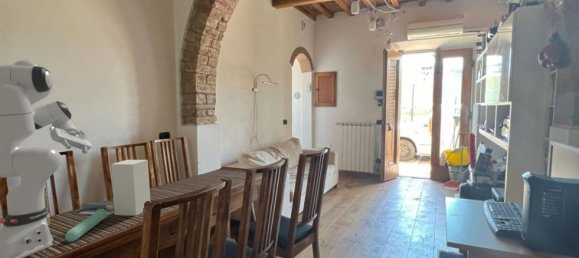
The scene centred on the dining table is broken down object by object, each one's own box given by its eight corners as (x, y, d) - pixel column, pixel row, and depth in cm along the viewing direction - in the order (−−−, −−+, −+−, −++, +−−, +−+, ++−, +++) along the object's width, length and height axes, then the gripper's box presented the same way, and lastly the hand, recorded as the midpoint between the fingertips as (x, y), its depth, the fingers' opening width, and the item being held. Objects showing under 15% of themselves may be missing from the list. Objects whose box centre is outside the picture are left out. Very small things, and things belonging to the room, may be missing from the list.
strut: (115, 211, 156) (114, 205, 155) (81, 209, 159) (81, 204, 158) (120, 208, 159) (120, 202, 159) (87, 207, 163) (87, 201, 162)
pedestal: (136, 215, 150) (132, 164, 148) (114, 214, 151) (110, 164, 149) (150, 207, 162) (147, 159, 159) (130, 206, 163) (127, 159, 161)
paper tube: (27, 229, 136) (22, 174, 134) (44, 223, 143) (39, 171, 141) (38, 230, 134) (32, 175, 132) (54, 224, 140) (49, 172, 138)
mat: (109, 215, 151) (109, 214, 151) (78, 214, 153) (78, 213, 153) (128, 206, 165) (128, 205, 165) (99, 205, 167) (99, 204, 167)
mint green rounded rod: (72, 228, 121) (104, 206, 145) (58, 234, 120) (92, 211, 145) (80, 240, 121) (109, 217, 146) (66, 247, 121) (98, 222, 146)
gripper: (53, 121, 148) (63, 139, 142) (88, 134, 166) (98, 151, 161) (43, 130, 147) (52, 149, 142) (79, 142, 166) (89, 159, 160)
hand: (77, 150), depth 151 cm, fingers open, 8 cm apart
